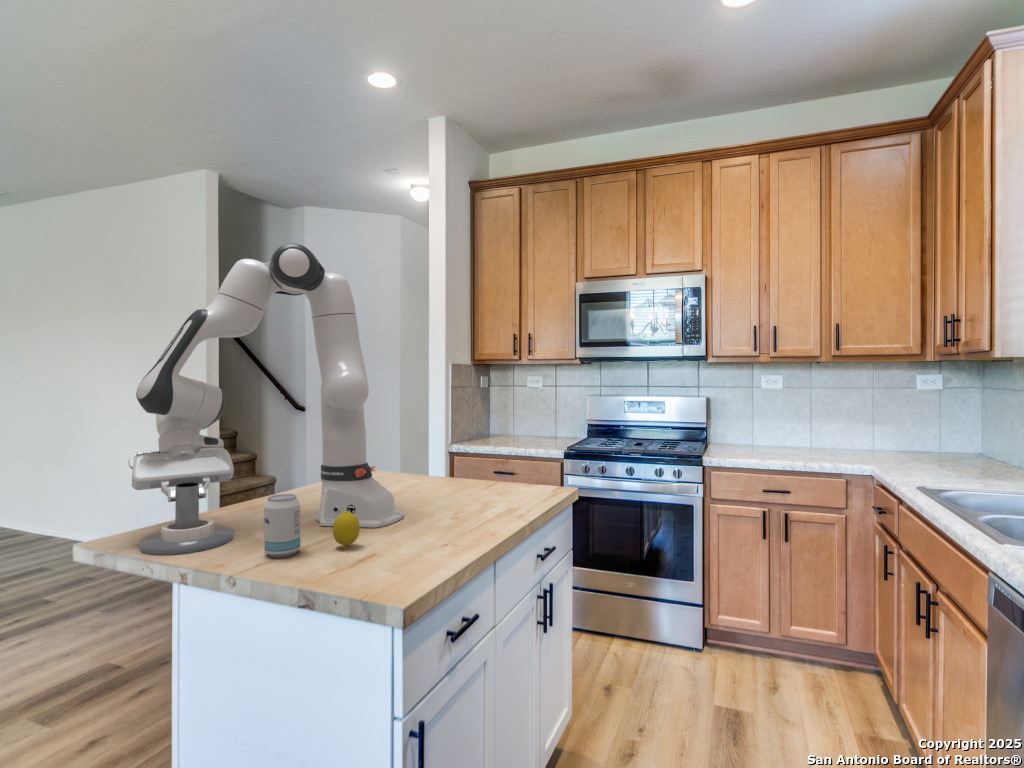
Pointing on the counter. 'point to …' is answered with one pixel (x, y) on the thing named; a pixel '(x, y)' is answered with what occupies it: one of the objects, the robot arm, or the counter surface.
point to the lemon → (346, 528)
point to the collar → (186, 539)
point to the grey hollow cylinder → (187, 506)
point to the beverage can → (282, 525)
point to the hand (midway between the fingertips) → (187, 498)
